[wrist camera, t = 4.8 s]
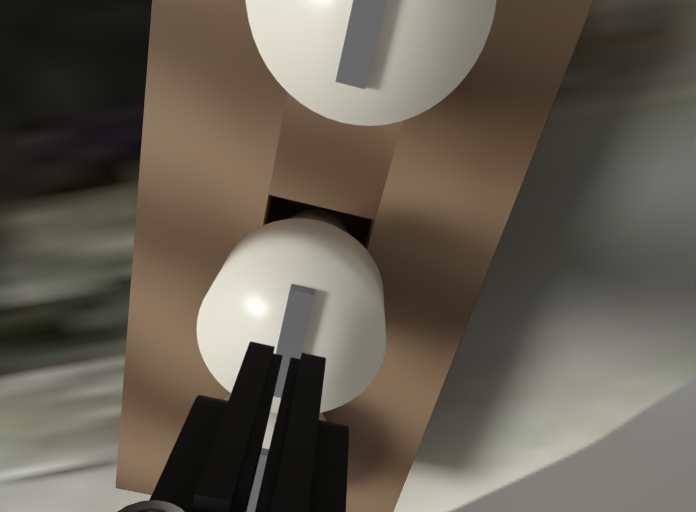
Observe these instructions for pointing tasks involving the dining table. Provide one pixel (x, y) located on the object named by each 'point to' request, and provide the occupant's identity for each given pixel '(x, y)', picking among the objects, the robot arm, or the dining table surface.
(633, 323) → the dining table surface
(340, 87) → the knob near
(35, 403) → the dining table surface
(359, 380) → the knob middle
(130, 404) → the knob mount
